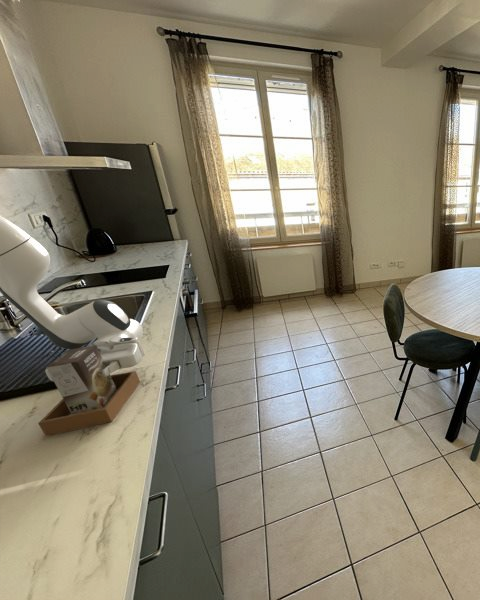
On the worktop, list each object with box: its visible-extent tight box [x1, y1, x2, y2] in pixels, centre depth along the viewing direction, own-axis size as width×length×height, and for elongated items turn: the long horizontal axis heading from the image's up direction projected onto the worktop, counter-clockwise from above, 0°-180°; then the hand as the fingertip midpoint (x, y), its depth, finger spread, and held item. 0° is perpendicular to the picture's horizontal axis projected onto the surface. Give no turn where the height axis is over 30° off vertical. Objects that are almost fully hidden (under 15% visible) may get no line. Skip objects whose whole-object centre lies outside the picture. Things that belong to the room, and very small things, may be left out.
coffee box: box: [45, 345, 118, 415], centre depth 85 cm, size 9×6×16 cm
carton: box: [37, 370, 141, 437], centre depth 88 cm, size 14×18×4 cm
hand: (80, 378), depth 84 cm, fingers open, 8 cm apart
